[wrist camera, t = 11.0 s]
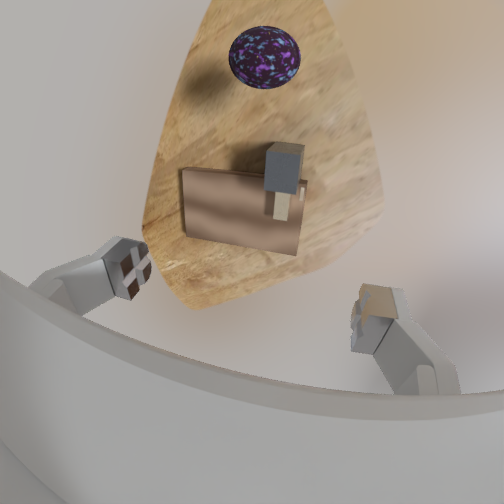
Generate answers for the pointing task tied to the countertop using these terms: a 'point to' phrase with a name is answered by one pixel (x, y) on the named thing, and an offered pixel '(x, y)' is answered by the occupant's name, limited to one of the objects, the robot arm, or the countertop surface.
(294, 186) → the upright grey metal block
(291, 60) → the lollipop
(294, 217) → the board
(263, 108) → the countertop surface
